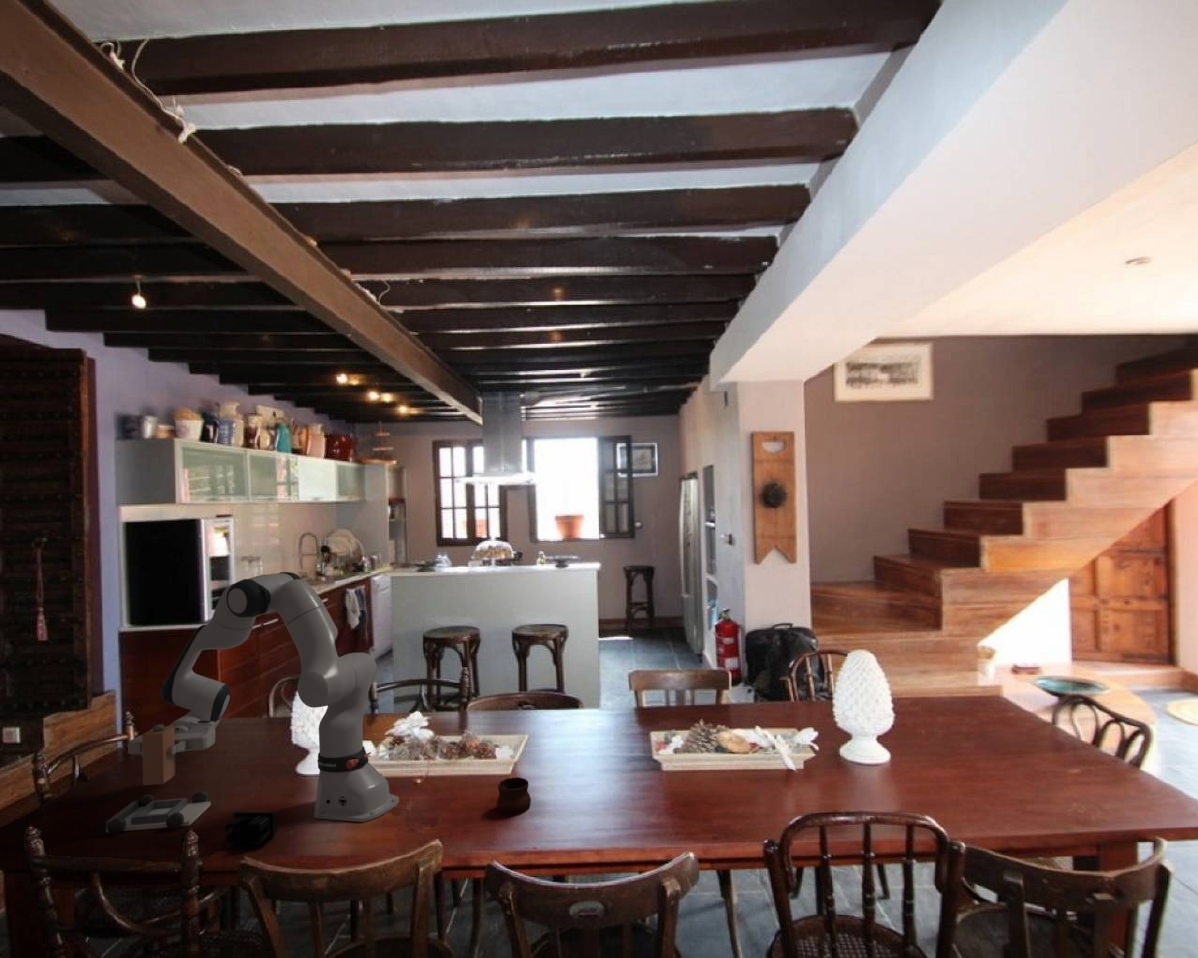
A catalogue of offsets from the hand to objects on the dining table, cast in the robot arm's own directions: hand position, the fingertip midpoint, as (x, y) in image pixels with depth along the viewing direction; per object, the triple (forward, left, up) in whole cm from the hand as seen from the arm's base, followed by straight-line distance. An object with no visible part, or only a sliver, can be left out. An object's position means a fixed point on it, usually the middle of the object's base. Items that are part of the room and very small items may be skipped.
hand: (157, 752), depth 183 cm
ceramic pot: (-85, -38, -18) cm, 95 cm away
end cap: (-35, -1, -18) cm, 39 cm away
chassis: (0, -1, -17) cm, 18 cm away
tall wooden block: (+1, -1, -7) cm, 8 cm away
